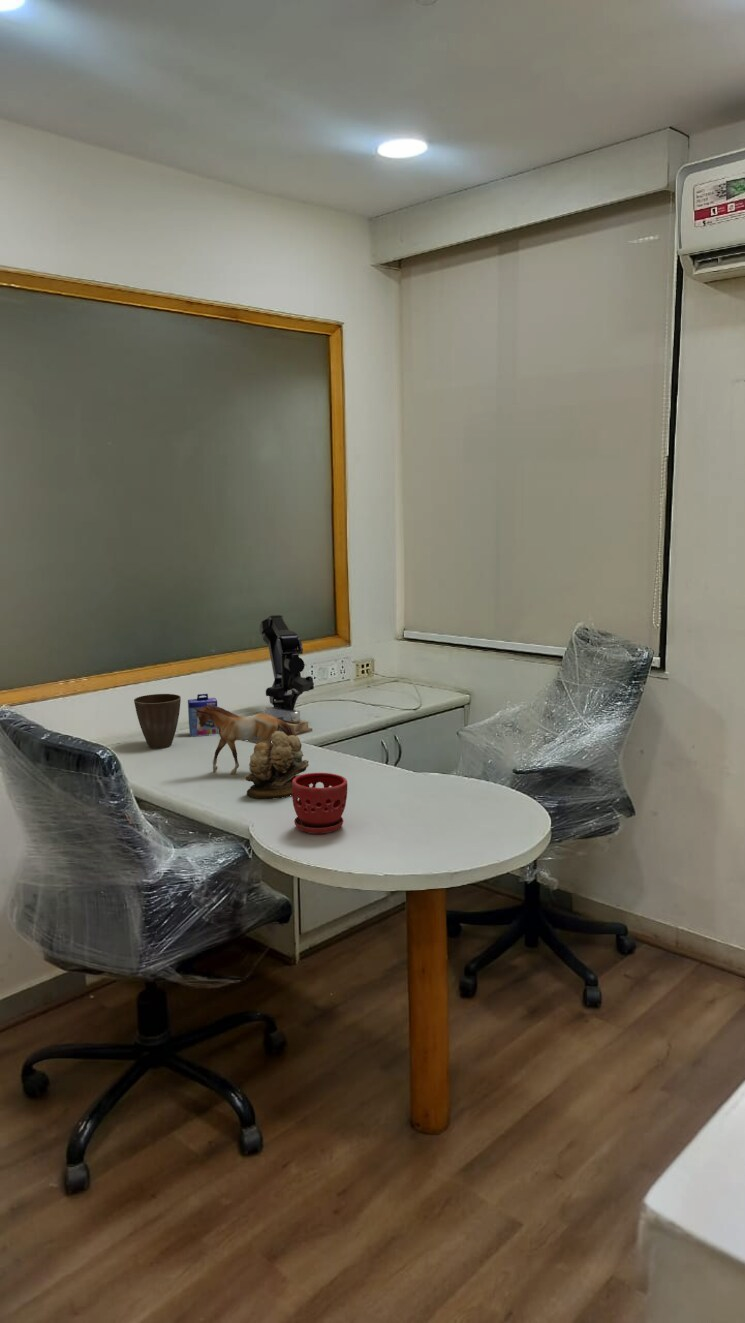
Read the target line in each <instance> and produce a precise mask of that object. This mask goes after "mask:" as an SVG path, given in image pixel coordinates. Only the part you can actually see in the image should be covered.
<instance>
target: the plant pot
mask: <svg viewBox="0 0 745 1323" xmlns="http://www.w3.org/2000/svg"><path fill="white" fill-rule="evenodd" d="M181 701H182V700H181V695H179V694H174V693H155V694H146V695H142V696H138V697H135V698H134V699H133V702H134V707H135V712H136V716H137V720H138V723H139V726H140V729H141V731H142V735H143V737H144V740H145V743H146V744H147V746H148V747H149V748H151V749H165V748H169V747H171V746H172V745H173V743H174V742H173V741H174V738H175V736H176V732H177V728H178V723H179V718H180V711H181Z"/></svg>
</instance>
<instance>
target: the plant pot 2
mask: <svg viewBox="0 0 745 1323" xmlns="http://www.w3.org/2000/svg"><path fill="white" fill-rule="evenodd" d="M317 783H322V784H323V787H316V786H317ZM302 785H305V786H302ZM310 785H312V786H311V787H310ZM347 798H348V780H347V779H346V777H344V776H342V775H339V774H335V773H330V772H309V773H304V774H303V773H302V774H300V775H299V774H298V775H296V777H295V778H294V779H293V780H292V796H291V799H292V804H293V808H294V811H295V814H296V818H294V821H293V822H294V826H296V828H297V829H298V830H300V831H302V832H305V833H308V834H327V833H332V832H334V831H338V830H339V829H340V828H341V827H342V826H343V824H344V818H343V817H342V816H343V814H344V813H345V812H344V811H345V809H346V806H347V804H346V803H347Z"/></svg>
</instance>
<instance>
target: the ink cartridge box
mask: <svg viewBox="0 0 745 1323" xmlns="http://www.w3.org/2000/svg"><path fill="white" fill-rule="evenodd" d="M207 705H211V706H216V707H218V700H217V698H216V697H209V694H208V693H203V694H202V693H200V694H199V693H198V694H197V698H193V699H192V698H191V699H190V698H189V699H187V712H188V715H187V716H188V729H189V736H190V737H191V736H193V737H198V736H197V735H205V736H210V735H209V734H218V735H219V731H218V728H217V727H216V726H215V724H214V723H213V721H212V720H211V719H209V720H208V721H207V722H206V724H205V725H204V729H203V730H202V731H199V730H198V729H197V716H196V711H197V710H195V709H194V708H198V709H199V708H201V707H203V706H207Z"/></svg>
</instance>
